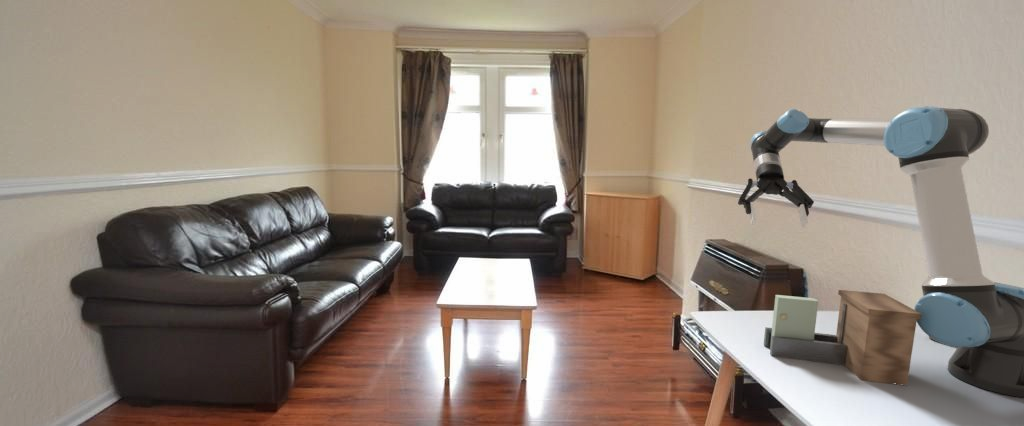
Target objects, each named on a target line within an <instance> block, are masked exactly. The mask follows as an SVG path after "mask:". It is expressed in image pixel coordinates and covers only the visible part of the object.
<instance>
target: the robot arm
mask: <svg viewBox="0 0 1024 426" xmlns="http://www.w3.org/2000/svg"><path fill="white" fill-rule="evenodd" d="M989 130H990V129H989V125H988V122H987V121H986V119H985V118H984V117H983V116H981V114H979V113H976V112H975V111H973V110H969V109H963V108H946V107H938V106H933V105H931V106H928V105H927V106H918V107H917V106H916V107H912V108H909V109H906V110H903V111H902V112H900V113H898V114H897V115H895V117H893V118H814V117H813V118H812V117H811V118H810V117H808V115H806V114H805V112H803V111H802V110H798V109H795V108H794V109H793V108H792V109H788V110H787V111H785V113H783V114H782V115H781V116H780V117H778V119H777V120H776V121H775V122H774V123H773V124H772V125H771V126H770V127H769V128H768V129H767V130H762V131H759V132H757V133H755V134H754V135H752V137H751V139H750V149H751V151H750V152H751V154H752V159H753V165H754V170H755V176H756V180H753V178H748V179H747V182H746V187H745V189H744V190H743V192H742V193H741V195H740V196H739V199H738V202H737V205H739V206H741V205H742V206H743V208H744V209H745V213H746V215H749V220H750V225H755V223H756V220H757V217H756V211H755V203H754V202H755V201H756V200H757V199H758V198H760V197H761V196H762V195H763V194H765V195H774V196H775V195H779V196H781V197H783V198H784V199H785V198H786V199H787V200H788V201H789V202H791V203H792V204H794V205H795V206H796V207H798V209H797V213H798V215H799V221H800V225H801V228H806V226H807V224H808V222H809V220H808V216H809V214H810V211H809V209H811V208H812V206H813V205H814V203H815V202H814V201H815V200H814V199H812V197H810V196H809V195H808V194H807V193H806V192H805V191H804V190H803V188H801V186H799V183H798V181H797V180H795V179H793V180H792V181H786V180H785V175H784V172H783V167H782V162H781V157H780V152H781V151H782V150H783V149H784V148H786V146H788V145H789V144H790V143H791V142H804V143H805V142H806V143H821V144H822V143H823V144H824V143H825V144H828V143H829V144H844V145H845V144H846V145H847V144H848V145H865V146H878V147H879V146H880V147H884V148H885V149H886V150H887V152H888V153H890V154H891V155H893V156H894V157H897V158H898V163H899V169H900V171H901V172H904V173H905V174H907V175H909V176H910V177H909V178H910V182H911V187H912V192H913V197H914V203H915V208H916V213H917V219H918V224H919V229H920V235H921V240H922V246H923V252H924V257H925V263H926V267H927V273H928V276H927V278H926V279H925V280H924V281H923V282H921V289H922V295H923V296H922V297H920V298H919V300H918V301H917V302H916V303H915V305H914V310H915V311H917V312H919V313H921V314H922V317H921V319H917V322H916V324H917V325H918V327H919V328H920V329H921V331H922V332H924V333H925V334H926V335H927V336H928V335H929V336H930V337H931V338H932V339H934V340H933V341H935V340H936V342H938V343H939V344H943V345H944V346H949V347H956V350H955V351H954V352H953V354H952V355H951V357H950V358H949V360H948V362H947V368H946V369H947V371H948V372H949V373H950V374H951V375H952V376H954V377H955V378H957V379H958V380H960V381H963V382H965V383H967V384H970V385H973V386H975V387H978V388H981V389H983V390H987V391H990V392H993V393H998V394H1002V395H1006V396H1007V395H1008V396H1010V397H1011V396H1013V397H1019V398H1024V287H1020V286H1017V285H1011V284H1005V283H1001V282H994V281H992V280H991V279H989V278H988V277H986V276H984V274H983V269H982V264H981V260H980V256H979V251H978V245H977V241H976V237H975V230H974V225H973V220H972V216H971V211H970V205H969V200H968V195H967V192H966V191H967V189H966V186H965V180H964V176H963V171H962V167H964V165H966V164H967V162H968V161H969V160H970V156H969V155H971V154H973V153H975V152H976V151H978V150H980V149H981V147H982V146H984V144H985V143H986V141H987V139H988V137H989V134H990V133H989V132H990V131H989ZM754 186H756V187H757V188H758V189H756V190H755V191H754V192H753V193H752V194H751V195H750V196H749V197H748V198H747V196H748V195H749V193H750V191H751V189H752V188H754ZM746 198H747V199H746ZM929 336H928V337H929ZM932 339H931V340H932Z"/></svg>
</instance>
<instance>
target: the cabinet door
mask: <svg viewBox="0 0 1024 426" xmlns="http://www.w3.org/2000/svg"><path fill="white" fill-rule="evenodd" d="M774 296H775V298H774V305H773V316H772V324H771V325H772V327H771V328H772V333H771V340H772V336H779V337H788V338H797V339H806V340H814V333H816V332H815V331H816V325H817V316H818V308H819V307H818V306H819V300H818V299H816V298H814V297H806V296H805V297H804V296H803V297H802V296H792V295H781V294H775V295H774ZM769 349H771V343H770V347H769Z"/></svg>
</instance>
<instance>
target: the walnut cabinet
mask: <svg viewBox="0 0 1024 426" xmlns="http://www.w3.org/2000/svg"><path fill="white" fill-rule="evenodd" d="M837 295H839V297H840V303H839V304H840V305H839V311H838V318H837V326H836V327H837V328H836V334H835V335H836V336H837V343H841V344H846V345H847V346H848V350H847V357H846V365H845V366H846V367H847V368H848V369H849V370H850V369H851V370H850V371H851V372H852V374H854V375H855V376H856V377H857V378H858V379H859V380H860V381H868V382H876V383H881V384H883V383H884V384H889V383H896V384H895V385H897V384H903V385H902V386H905V385H907V386H908V381H909V374H910V368H911V361H912V354H913V346H914V341H915V335H916V327H917V319H921V317H922V314H921V313H919V312H917V311H915V310H914V309H913V308H912V307H911V306H908V305H906V304H904V303H903V302H900V301H899V300H897V299H895V298H893V297H891V296H890V295H887V294H886V293H878V292H871V291H870V292H868V291H857V290H856V291H855V290H845V289H838V293H837Z"/></svg>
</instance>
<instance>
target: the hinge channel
mask: <svg viewBox="0 0 1024 426" xmlns="http://www.w3.org/2000/svg"><path fill="white" fill-rule="evenodd" d="M771 333H772V327H765V329H764V338H763V347H767V348H769V349H770V343H771V349H770V351H769V352H770V353H769V354H770V356H771V357H776V358H785V359H792V360H793V359H795V360H801V361H802V360H803V361H810V362H817V363H825V364H833V365H835V364H836V365H841V366H842V365H843V366H846V357H847V350H848V346H847V345H846V344H841V343H837V336H836V334H831V333H830V334H829V333H822V332H821V333H820V332H815V333H814V340H806V339H797V338H788V337H779V336H772V340H771Z"/></svg>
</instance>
